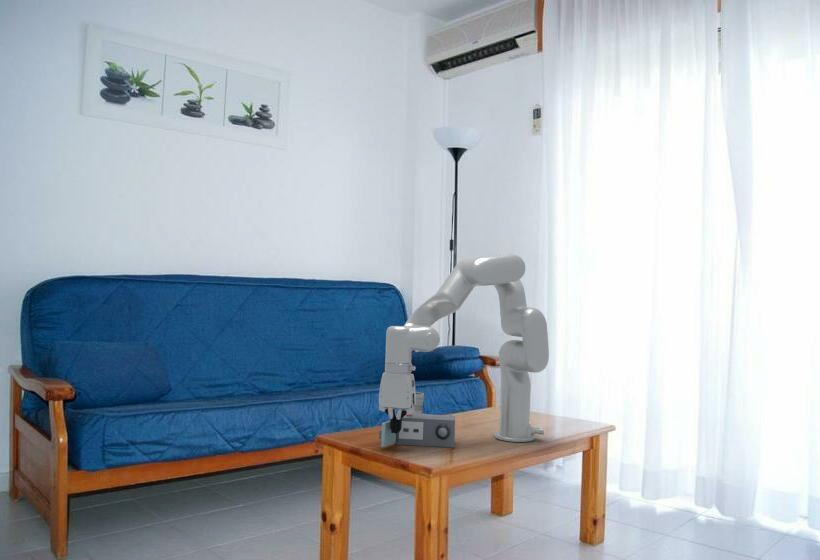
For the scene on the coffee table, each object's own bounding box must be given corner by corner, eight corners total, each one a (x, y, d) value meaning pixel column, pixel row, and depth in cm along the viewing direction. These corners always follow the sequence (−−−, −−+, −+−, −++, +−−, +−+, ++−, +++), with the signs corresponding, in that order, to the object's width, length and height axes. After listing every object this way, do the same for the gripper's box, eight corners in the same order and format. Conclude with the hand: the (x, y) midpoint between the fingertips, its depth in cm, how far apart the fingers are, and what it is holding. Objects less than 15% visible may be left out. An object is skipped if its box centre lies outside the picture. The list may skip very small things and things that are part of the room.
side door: (384, 447, 184) (385, 423, 185) (378, 446, 185) (379, 422, 185) (395, 442, 192) (396, 419, 192) (390, 441, 192) (391, 418, 193)
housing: (454, 441, 200) (455, 413, 200) (453, 448, 191) (454, 419, 191) (396, 438, 201) (397, 410, 202) (393, 444, 192) (394, 415, 193)
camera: (423, 391, 225) (447, 398, 213) (421, 425, 225) (445, 434, 212) (401, 392, 221) (425, 399, 208) (400, 426, 221) (423, 436, 208)
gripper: (426, 369, 188) (424, 432, 187) (378, 365, 193) (376, 427, 192) (418, 371, 181) (415, 437, 180) (369, 368, 186) (366, 432, 185)
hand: (395, 432), depth 186 cm, fingers closed
